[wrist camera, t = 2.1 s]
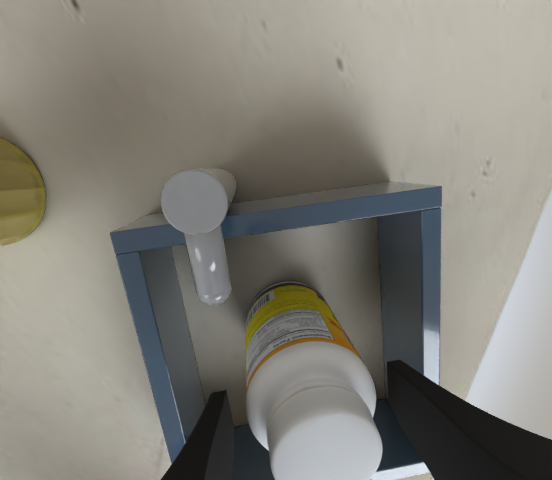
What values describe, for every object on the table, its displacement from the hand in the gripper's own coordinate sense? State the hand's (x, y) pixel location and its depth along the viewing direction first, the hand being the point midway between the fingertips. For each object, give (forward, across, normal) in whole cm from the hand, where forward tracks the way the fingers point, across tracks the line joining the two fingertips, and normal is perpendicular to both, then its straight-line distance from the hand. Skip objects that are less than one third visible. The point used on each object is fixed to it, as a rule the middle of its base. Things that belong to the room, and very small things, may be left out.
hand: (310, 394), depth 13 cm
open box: (+7, 0, 0) cm, 7 cm away
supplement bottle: (+7, 0, 0) cm, 7 cm away
